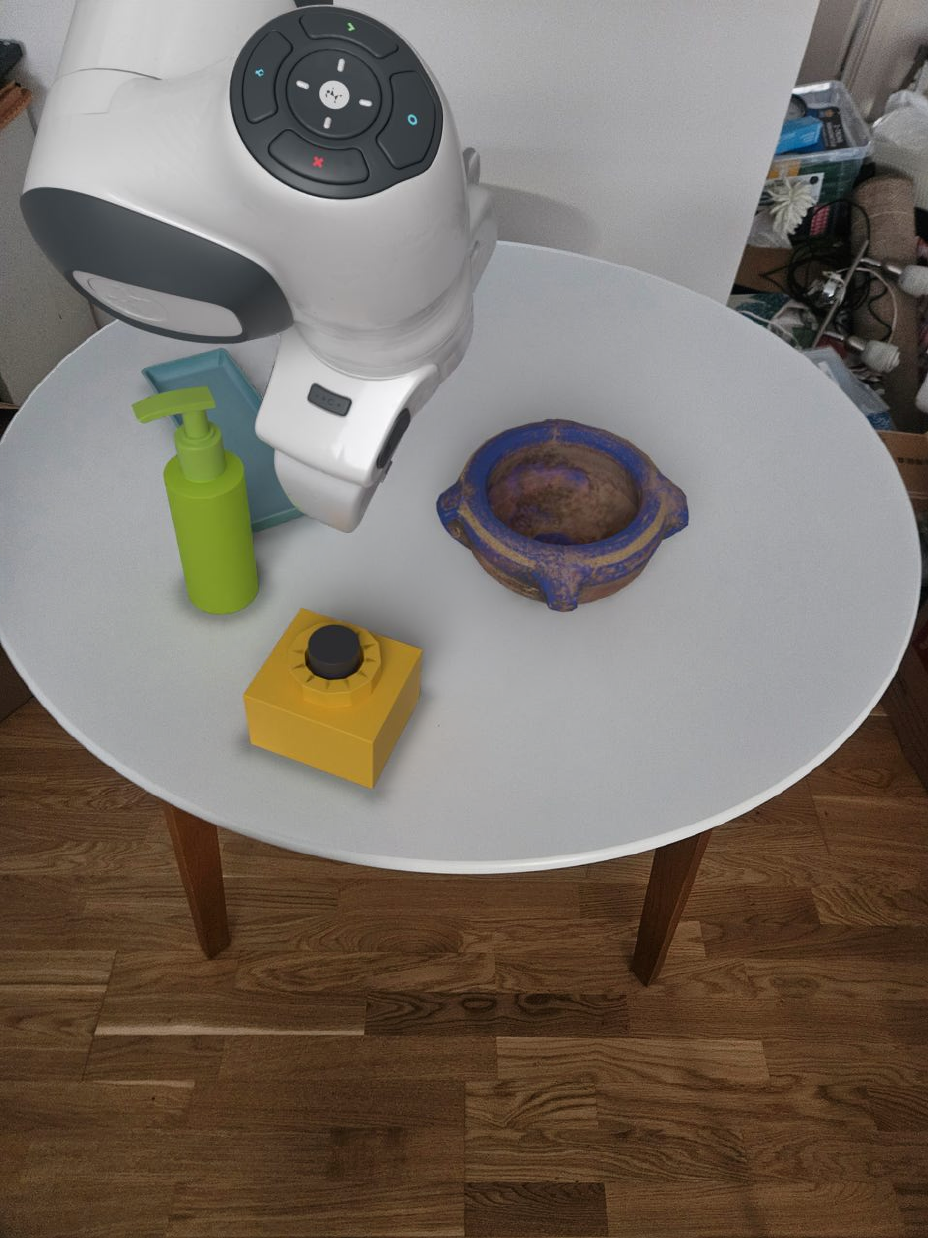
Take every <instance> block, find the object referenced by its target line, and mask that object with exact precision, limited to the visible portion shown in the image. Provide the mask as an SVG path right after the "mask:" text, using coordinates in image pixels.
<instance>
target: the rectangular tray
mask: <svg viewBox="0 0 928 1238" xmlns="http://www.w3.org/2000/svg"><path fill="white" fill-rule="evenodd" d="M140 373H141V375H142V376H143V378H144V379H145V380H146V382H147V383H148V385H149V386H150V388H151V389H152V391H153V392H154V395H156V394H160V393H163V392H168V391H172V390H178V389H185V388H193V387H201V386H208V388H209V390H210V393H211V395H212V397H213V399H214V401H215V408H211V409H206V413H207V419H208V421H210V422H213V423H214V424H216V425H217V426H218V427H219V428H220V430H221V433H222V439H223V446H224V449H226V450H228V451H230V452H232V453H234V454H235V455H236V456H238V458H239V459H240V460H241V462H242V464H243V467H244V474H245V482H246V490H247V497H248V505H249V513H250V521H251V529H252V534H255V533H257V532H260V531H263V530H266V529H270V528H272V527H276V526H278V525H281V524H284V523H287V522H290V521H294V520H296V519H299V518H301V517H302V518H303V517H305V516H306V515H305V514H304V513H302V512H300V511H299V510H298V509H297V508H296V507H295V506H294V505H293V504H292V503H291V501H290V500H289V498H288V497H287V495H286V493H285V492H284V490H283V488H282V486H281V484H280V482H279V480H278V477H277V475H276V471H275V465H274V452H275V449H274V448H273V447H271V446H270V445H268V444H266V443H265V442H263V441H262V440H260V439H259V438H258V436H257V435H256V432H255V422H256V418H257V415H258V412H259V409H260V406H261V403H262V399H263V396H262V395H261V394H260V393H259V392H258V390H257V389H256V388H255V386H254V385H253V384H252V382H251V381H250V379H249V378H248V377H247V375H246V373H245V372H244V371H243V370H242V368H241V367H240V366H239V365H238V363H237V362H236V361H235V359H234V358H233V356H232V354H231V353H230V352H229V351H228V349H226V348H224V347H219V348H215V349H211V350H208V351H203V352H201V353H197V354H192V355H189V356H184V357H181V358H176V359H173V360H170V361H166V362H162V363H158V364H154V365H150V366H147V367H144V368H142V369H141V372H140ZM169 418H170V420H171V421H172V422H173V424H174V426H175V427H176V429H177V428H178V427H179V426H180V425H182V424H183V418H182V413H180V414H174V415H170V416H169Z"/></svg>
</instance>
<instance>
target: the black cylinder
mask: <svg viewBox="0 0 928 1238" xmlns="http://www.w3.org/2000/svg"><path fill="white" fill-rule="evenodd" d="M308 654H309V664H310V667H311V669H312V670H313V671H314V672H315V673H316V674H317V675H319V676H321V677H323V678H326V679H342V678H345V677H347V676H349V675H351V674H352V673H353V672H354V671H355V670H356V669H357V668H358V666H359V663H360V641H359V638H358V636H357V634H356V633H355V632H354V631H353V630H351V629H350V628H348V627H346V626H342V625H327V626H323V627H321V628H319V629H317V630H316V631H315V632H314V633H313V634H312V635H311V637H310V638H309V641H308Z"/></svg>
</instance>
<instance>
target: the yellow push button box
mask: <svg viewBox="0 0 928 1238" xmlns="http://www.w3.org/2000/svg"><path fill="white" fill-rule="evenodd" d="M327 625H342V626H346V627H348V628H350V629H351V630H353V631H354V632H355V633H356V634H357V636H358V638H359V641H360V663H359V666H358V668H357V669H356V670H355V671H354V672H353V673H352V674H351V675H349V676H347V677H345V678H342V679H326V678H323V677H321V676H319V675H317V674H316V673H315V672H314V671H313V670H312V669H311V667H310V664H309V654H308V641H309V638H310V637H311V635H312V634H313V633H314V632H315V631H316V630H317V629H319V628H321V627H323V626H327ZM266 658H267V659H266V660H265V661H264V663H263V664H262V666H261V667H260V669H259V670H258V672H257V673H256V674H255V677H253V679H252V681H251V682H250V684H249V686H247V688H246V690H245V692H244V693H243V694H242V698H243V705H244V710H245V716H246V722H247V728H248V736H249V742H250V744H251V745H254V746H256V747H259V748H262V749H264V750H267V751H269V752H272V753H274V754H278V755H280V756H283V757H286V758H288V759H291V760H294V761H295V762H298V763H301V764H304V765H307V766H309V767H312V768H315V769H316V770H320V771H323V772H326V773H328V774H330V775H333V776H336V777H338V778H341V779H344V780H347V781H349V782H352V783H354V784H357V785H360V786H363V787H365V788H368V789H370V790H374V787H375V785H376V784H377V782H378V780H379V778H380V776H381V774H382V772H383V770H384V768H385V766H386V765H387V762H388V761H389V758H390V757H391V754H392V752H393V751H394V749H395V746H396V745H397V743H398V741H399V739H400V737H401V735H402V733H403V731H404V729H405V727H406V725H407V724H408V721H409V719H410V718H411V715H412V714H413V711H414V709H415V707H416V706H417V704H418V701H419V700H420V693H421V676H422V665H423V664H422V663H423V662H422V661H423V648H422V649H421V648H420V647H416V646H413V645H410V644H407V643H405V642H402V641H399V640H396V639H393V638H390V637H387V636H384V635H381V634H378V633H377V632H376V633H375V632H374V631H370V630H368V629H366V628H365V627H362V626H359V625H356V624H353V623H350V622H347V621H344V620H339V619H336V618H332V617H330V616H326V615H323V614H320V613H317V612H315V611H312V610H309V609H306V608H303V607H300V608H299V610H298V612H297V614H296V615H295V616H294V617H293V620H292V621H291V623H290V624H289V625H288V627H287V628H286V630H285V631H284V633H283V634H282V636H281V637H280V639H279V640H278V642H277V644H276V645H275V647H274V648H273V649H272V651H271V652H270V654H269V655H268V656H267V657H266Z"/></svg>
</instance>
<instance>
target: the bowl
mask: <svg viewBox="0 0 928 1238" xmlns="http://www.w3.org/2000/svg"><path fill="white" fill-rule="evenodd" d="M435 507H436V509H435V510H436V513H437V516H438V518H439V521H440V524H441V525H442V526H443V528H444V530H445V531H446V532H447V533H448V534H449V536H451V538H452V539H454V540H455V541H457V542H458V543H460V544H461V545H462V546H464V547H465V548H466V549H467V550H470V552H471V553H472V555H473V557H474V558H475V560H476V561H477V562H478V564H479V565H480V566H481V568H482V569H483V570H484V571H485V572H486V573H487V574H488V575H489V576H490V577H491V578H493V579H494V580H495V581H496V582H498V583H499V584H500V585H502V586H503V587H505V588H507V589H509V591H512V592H513V593H516V594H518V595H519V596H523V597H525V598H526V599H530V600H533V601H537V602H539V603H542V604H546V606H547V607H548V609H549V610H551V611H555V612H560V613H567V612H573V611H574V610H576V609H578V605H584V604H589V603H593V602H596V601H598V600H602V599H605V598H607V597H610V596H612V595H615V594H616V593H618V592H620V591H621V590H623V589H624V588H626V587H628V586H629V585H630V584H632V582H634V581H635V580H636V579H637V578H638V577H639V576H640V575H641V574H642V573H643V571H644V570H645V569H646V567H647V565H648V564H649V562H650V560H651V559H652V557H653V556H654V554H655V553H656V552H657V550H658V548H659V547H660V545H661V543H662V542H663V540H666V539H669V538H671V537H673V536H674V535H675V534H678V533H680V532H682V531H683V530H684V529H685V528H688V526H689V522H690V514H689V512H690V511H689V506H688V500H687V495H686V493H685V492H684V491H683V489H682V488H680V487H679V486H678V485H676V484H675V483H674V482H672V480H670V479H669V478H668V477H667V476H666V475H664V474H663V473H662V471H661V470H660V469H659V467H658V466H657V465H656V464H655V462H653V460H652V459H651V458H650V456H649V455H648V454H647V453H645V452H644V451H643V450H642V449H640V448H639V447H638V446H636V445H635V444H634V443H632V442H631V441H630V440H628V439H626V438H624V437H621V436H619V435H618V434H615V433H613V432H611V431H609V430H606V429H603V428H600V427H595V426H592V425H588V424H584V423H580V422H577V421H575V420H570V419H563V418H554V419H553V418H547V419H543V420H540V421H535V422H534V421H533V422H529V423H525V424H522V425H518V426H514V427H511V428H507V429H504V430H503V431H501V432H499V433H497V434H496V435H494V436H492V437H490V438H488V439H487V440H485V441H484V442H483V443H482V444H481V445H480V446H479V447H478V448H477V449H476V450H474V452H473V453H472V454H471V455H470V456H469V458H468V460H467V461H466V463H465V465H464V467H463V469H462V471H461V473H460V475H459V476H458V478H457V479H456V482H455V483H453V484H452V485H451V486H449V487H447V489H445V490H444V491H442V492H441V493H440V494H439V495H438V498H437V499H436V502H435Z"/></svg>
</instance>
